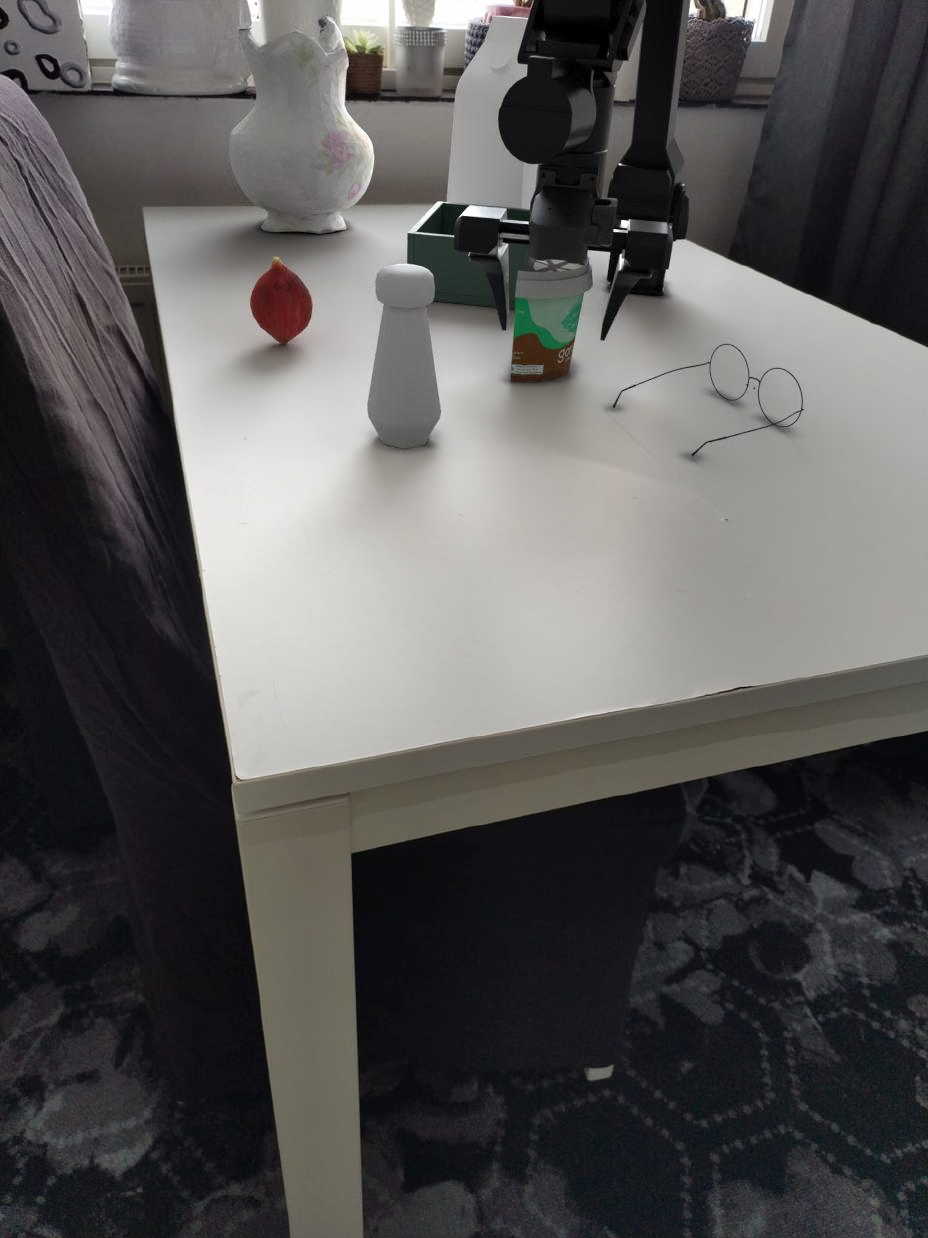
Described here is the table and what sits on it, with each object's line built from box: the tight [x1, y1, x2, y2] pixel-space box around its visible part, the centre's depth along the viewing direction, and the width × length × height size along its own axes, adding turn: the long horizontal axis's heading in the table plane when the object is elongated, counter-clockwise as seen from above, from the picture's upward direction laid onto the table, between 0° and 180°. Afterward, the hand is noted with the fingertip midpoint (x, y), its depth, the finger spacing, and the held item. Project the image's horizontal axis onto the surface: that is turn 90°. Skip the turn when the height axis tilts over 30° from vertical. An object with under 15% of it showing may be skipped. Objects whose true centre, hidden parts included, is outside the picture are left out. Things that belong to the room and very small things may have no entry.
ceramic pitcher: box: [228, 14, 375, 235], centre depth 120 cm, size 22×20×25 cm
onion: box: [249, 256, 314, 345], centre depth 84 cm, size 6×6×8 cm
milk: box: [445, 15, 546, 209], centre depth 117 cm, size 12×12×26 cm
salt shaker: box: [366, 263, 442, 450], centre depth 67 cm, size 6×6×13 cm
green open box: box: [406, 200, 531, 310], centre depth 105 cm, size 14×18×7 cm
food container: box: [509, 255, 594, 383], centre depth 82 cm, size 12×6×10 cm, turn 168°
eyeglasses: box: [612, 343, 805, 457], centre depth 74 cm, size 11×13×5 cm
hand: (553, 334), depth 83 cm, fingers open, 9 cm apart
